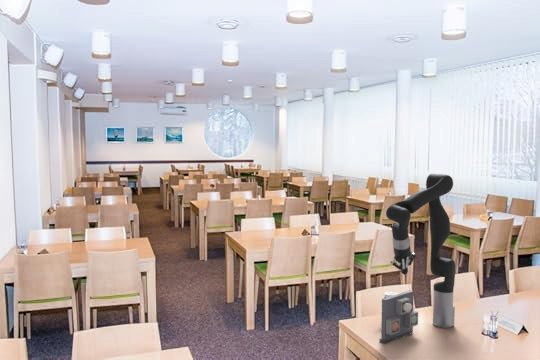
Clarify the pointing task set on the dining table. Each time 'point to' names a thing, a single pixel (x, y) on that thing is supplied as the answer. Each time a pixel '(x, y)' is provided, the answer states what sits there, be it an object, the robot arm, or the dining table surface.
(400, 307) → the button panel
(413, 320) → the sage button
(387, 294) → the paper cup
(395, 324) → the terracotta button
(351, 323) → the dining table surface
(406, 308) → the cream button
